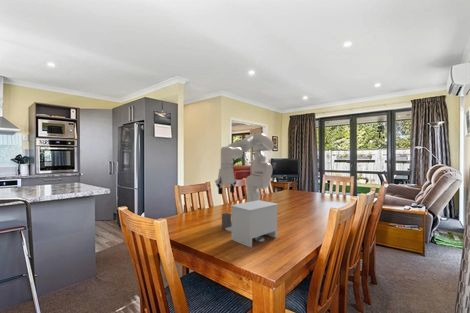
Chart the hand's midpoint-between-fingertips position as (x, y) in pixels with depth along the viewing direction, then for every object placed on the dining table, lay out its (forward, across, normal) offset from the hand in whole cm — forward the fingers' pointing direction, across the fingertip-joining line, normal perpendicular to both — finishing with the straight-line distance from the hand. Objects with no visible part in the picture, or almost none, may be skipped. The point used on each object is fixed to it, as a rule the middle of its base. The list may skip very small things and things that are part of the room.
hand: (226, 193), depth 147 cm
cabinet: (+22, 0, +24) cm, 33 cm away
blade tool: (+22, 0, +10) cm, 24 cm away
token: (+22, 0, +28) cm, 36 cm away
